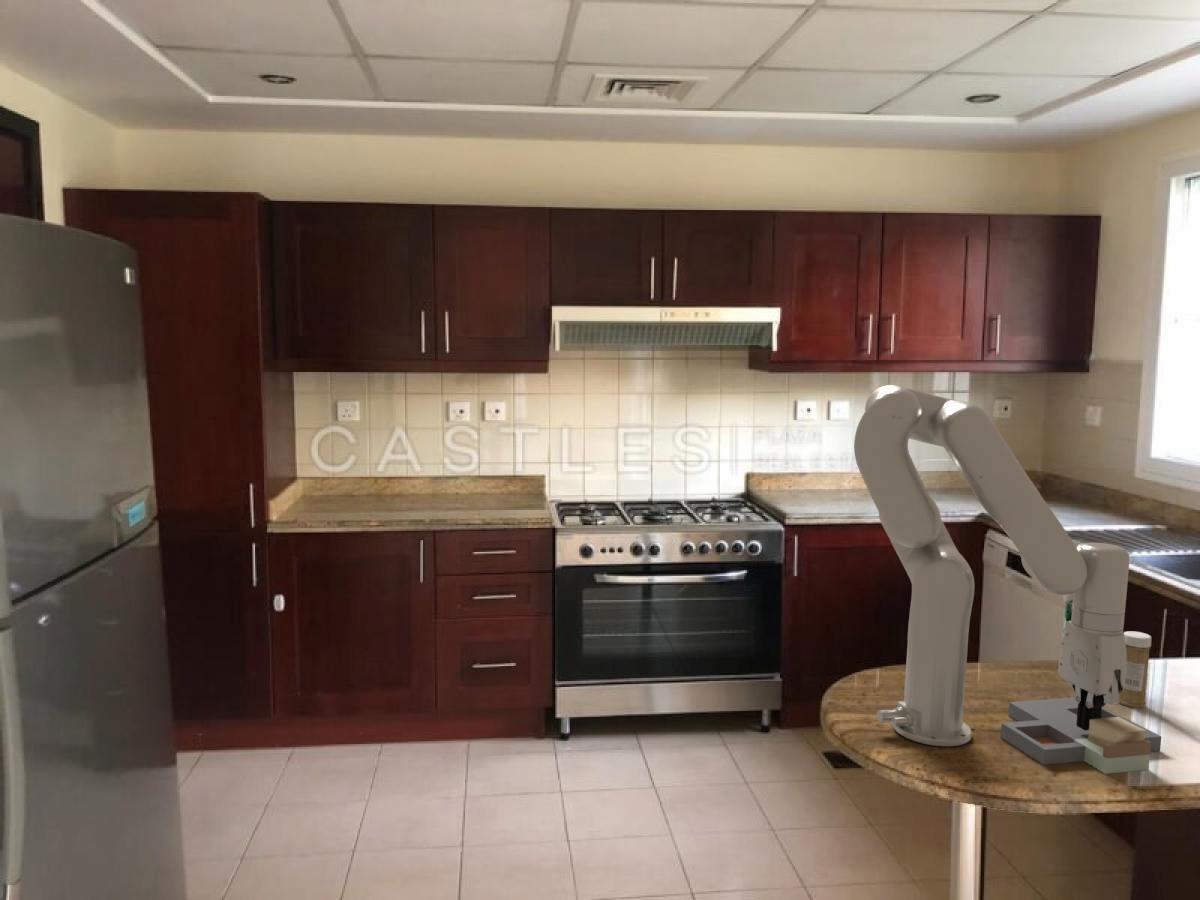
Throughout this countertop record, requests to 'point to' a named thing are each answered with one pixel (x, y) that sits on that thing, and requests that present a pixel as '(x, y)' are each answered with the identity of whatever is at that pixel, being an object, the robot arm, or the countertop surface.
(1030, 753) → the board
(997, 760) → the countertop surface
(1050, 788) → the countertop surface
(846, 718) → the countertop surface
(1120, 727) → the birch block
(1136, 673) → the sprinkles bottle
